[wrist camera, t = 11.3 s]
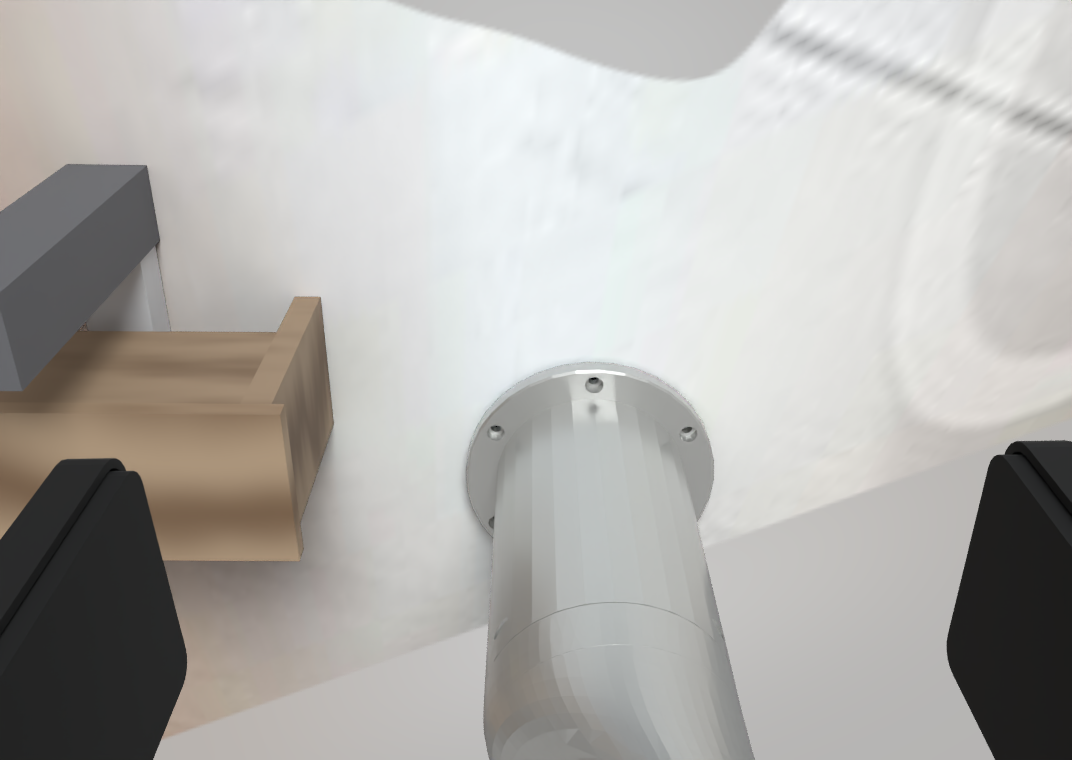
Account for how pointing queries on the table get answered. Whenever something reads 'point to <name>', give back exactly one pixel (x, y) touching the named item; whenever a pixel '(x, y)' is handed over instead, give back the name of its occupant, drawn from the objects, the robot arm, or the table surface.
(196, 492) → the wooden bench
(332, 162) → the table surface
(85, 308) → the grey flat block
